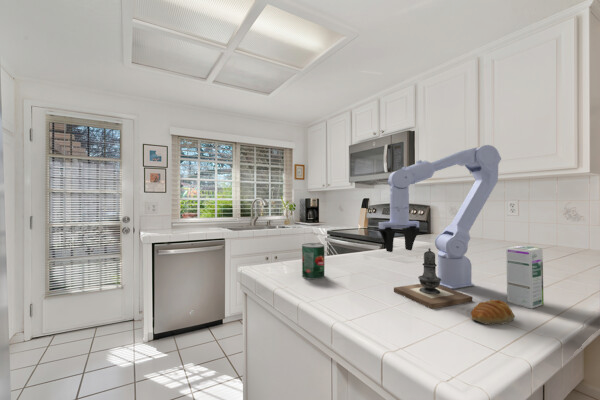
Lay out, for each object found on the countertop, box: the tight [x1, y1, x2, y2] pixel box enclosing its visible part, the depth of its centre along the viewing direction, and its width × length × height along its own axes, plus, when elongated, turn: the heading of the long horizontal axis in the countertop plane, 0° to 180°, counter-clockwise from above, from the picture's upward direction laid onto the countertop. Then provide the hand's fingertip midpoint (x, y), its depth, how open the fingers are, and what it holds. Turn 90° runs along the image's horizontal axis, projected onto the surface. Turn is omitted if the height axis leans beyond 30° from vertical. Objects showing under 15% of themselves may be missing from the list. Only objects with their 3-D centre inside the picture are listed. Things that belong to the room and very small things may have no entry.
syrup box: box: [505, 245, 545, 310], centre depth 74 cm, size 6×6×14 cm
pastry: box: [470, 299, 516, 326], centre depth 65 cm, size 9×7×4 cm
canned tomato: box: [301, 242, 326, 280], centre depth 101 cm, size 8×8×11 cm
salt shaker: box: [418, 247, 441, 294], centre depth 80 cm, size 6×6×12 cm
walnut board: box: [393, 283, 474, 310], centre depth 80 cm, size 14×14×1 cm
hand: (399, 250), depth 92 cm, fingers open, 7 cm apart
